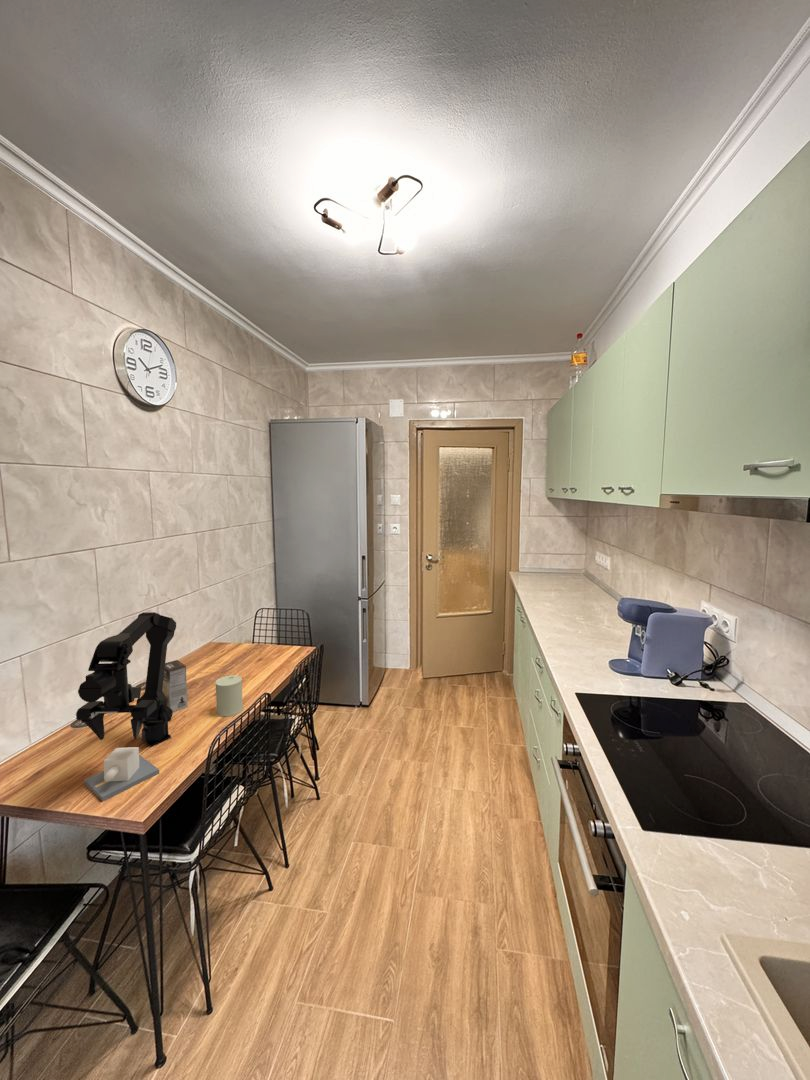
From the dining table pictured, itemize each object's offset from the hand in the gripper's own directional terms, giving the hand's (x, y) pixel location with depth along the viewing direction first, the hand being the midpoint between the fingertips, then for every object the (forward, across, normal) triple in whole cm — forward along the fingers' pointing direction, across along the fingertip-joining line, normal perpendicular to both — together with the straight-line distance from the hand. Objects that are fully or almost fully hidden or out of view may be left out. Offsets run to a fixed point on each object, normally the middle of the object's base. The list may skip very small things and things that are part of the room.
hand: (119, 738), depth 120 cm
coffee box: (+11, +5, -41) cm, 43 cm away
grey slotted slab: (+11, -1, +1) cm, 11 cm away
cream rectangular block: (+10, -1, +3) cm, 10 cm away
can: (+11, -17, -37) cm, 42 cm away
